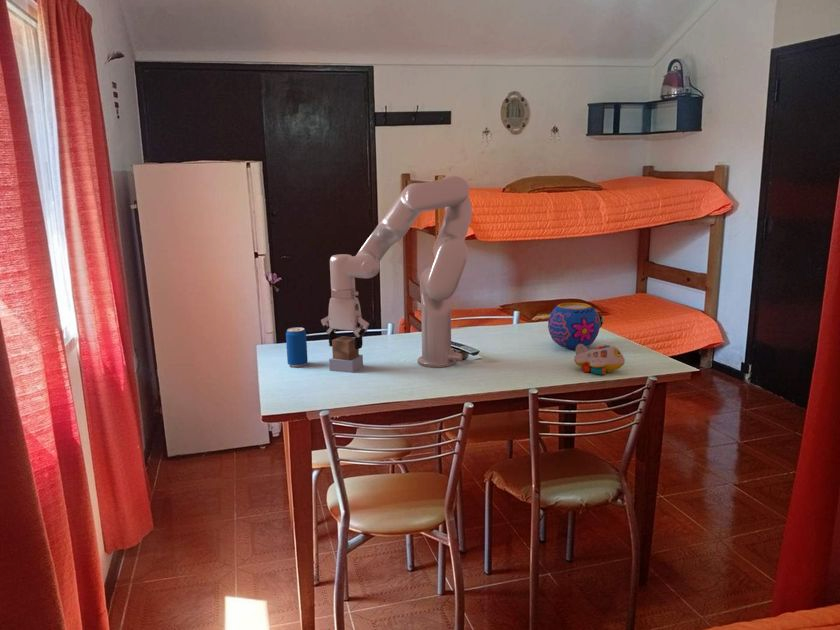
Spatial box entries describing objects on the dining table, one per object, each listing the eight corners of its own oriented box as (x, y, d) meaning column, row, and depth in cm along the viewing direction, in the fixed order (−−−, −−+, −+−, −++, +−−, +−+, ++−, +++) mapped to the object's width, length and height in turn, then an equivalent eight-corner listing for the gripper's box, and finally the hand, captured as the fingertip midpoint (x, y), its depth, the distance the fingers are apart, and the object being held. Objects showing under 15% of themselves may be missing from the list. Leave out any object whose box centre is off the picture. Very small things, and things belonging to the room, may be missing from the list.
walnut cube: (358, 355, 215) (358, 337, 214) (348, 360, 210) (348, 341, 209) (343, 354, 218) (342, 336, 217) (332, 358, 213) (332, 340, 212)
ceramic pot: (610, 348, 233) (611, 305, 230) (574, 356, 223) (575, 312, 220) (572, 338, 247) (573, 298, 244) (537, 346, 237) (537, 304, 234)
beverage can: (310, 362, 222) (308, 327, 220) (304, 367, 216) (302, 331, 214) (291, 362, 223) (288, 327, 221) (285, 367, 217) (283, 331, 214)
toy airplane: (576, 338, 213) (625, 338, 208) (577, 365, 215) (626, 366, 210) (571, 349, 201) (623, 349, 196) (572, 377, 203) (623, 378, 198)
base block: (363, 366, 217) (362, 354, 216) (352, 373, 210) (352, 361, 209) (340, 364, 220) (340, 353, 219) (329, 371, 213) (329, 359, 212)
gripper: (373, 293, 209) (375, 346, 213) (327, 290, 217) (329, 341, 220) (360, 297, 203) (362, 352, 206) (313, 294, 210) (316, 347, 214)
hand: (345, 347), depth 213 cm, fingers open, 9 cm apart
